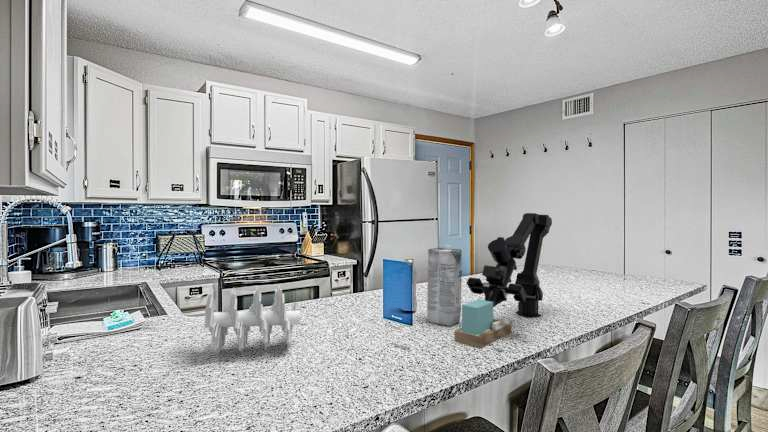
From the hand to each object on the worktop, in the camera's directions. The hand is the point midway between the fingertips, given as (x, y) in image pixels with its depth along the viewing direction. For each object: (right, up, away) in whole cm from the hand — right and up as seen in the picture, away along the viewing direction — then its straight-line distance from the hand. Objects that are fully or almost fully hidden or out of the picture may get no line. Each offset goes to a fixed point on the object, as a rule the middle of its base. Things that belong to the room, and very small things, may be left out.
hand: (486, 310), depth 125 cm
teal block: (-4, -5, -4) cm, 7 cm away
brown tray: (-1, -8, -1) cm, 8 cm away
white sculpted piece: (-69, -8, -13) cm, 70 cm away
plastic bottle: (-23, -7, +27) cm, 36 cm away
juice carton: (-11, -7, +14) cm, 19 cm away
